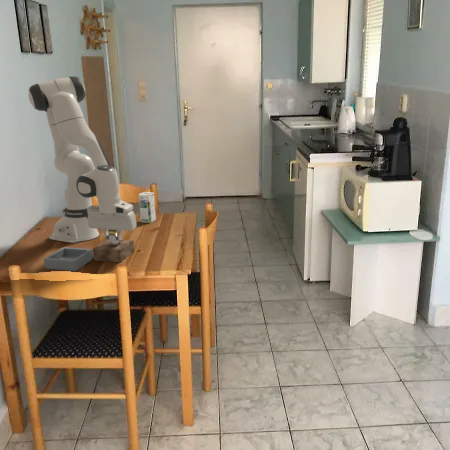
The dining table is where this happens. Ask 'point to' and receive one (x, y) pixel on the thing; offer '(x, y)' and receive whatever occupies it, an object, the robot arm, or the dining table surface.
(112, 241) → the metal pin
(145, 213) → the syrup box
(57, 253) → the grey tray
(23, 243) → the dining table surface
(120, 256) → the walnut block
